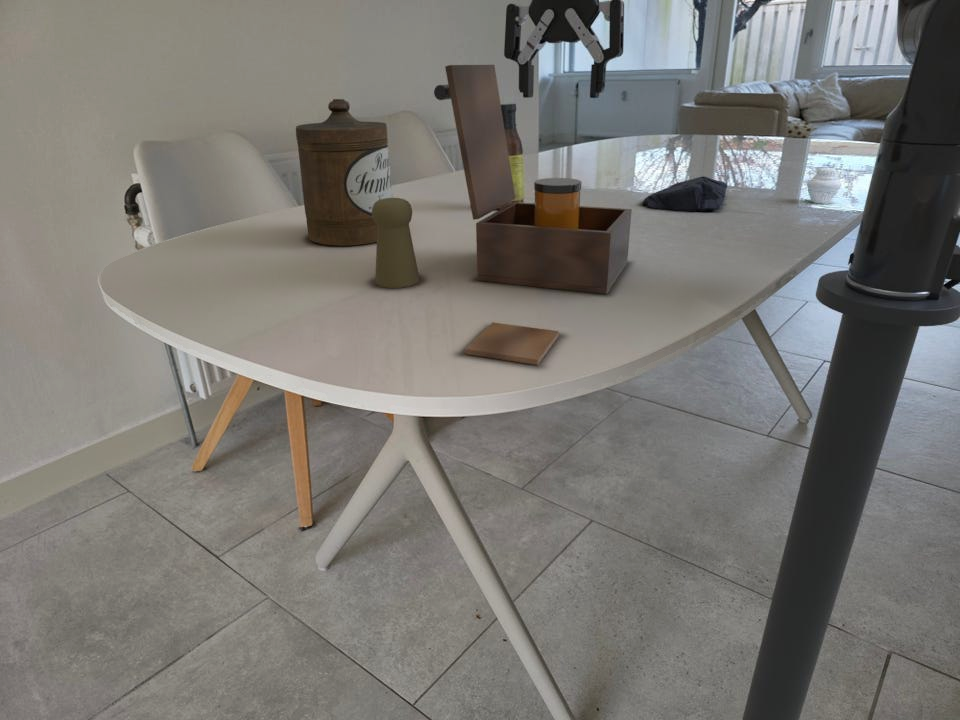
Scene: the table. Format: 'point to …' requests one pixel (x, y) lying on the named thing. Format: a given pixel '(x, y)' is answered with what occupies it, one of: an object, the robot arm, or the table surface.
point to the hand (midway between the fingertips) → (560, 97)
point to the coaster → (513, 343)
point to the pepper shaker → (394, 244)
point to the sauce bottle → (513, 151)
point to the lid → (480, 135)
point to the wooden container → (343, 176)
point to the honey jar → (557, 202)
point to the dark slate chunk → (689, 195)
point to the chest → (553, 249)
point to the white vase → (823, 186)
